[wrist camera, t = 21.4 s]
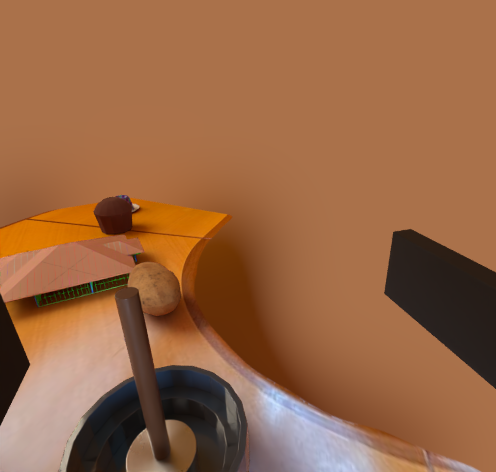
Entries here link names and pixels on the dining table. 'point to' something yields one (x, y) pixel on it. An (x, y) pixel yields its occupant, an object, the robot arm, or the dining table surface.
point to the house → (66, 267)
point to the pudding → (129, 202)
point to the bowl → (175, 408)
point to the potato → (155, 288)
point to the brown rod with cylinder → (152, 401)
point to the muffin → (114, 215)
